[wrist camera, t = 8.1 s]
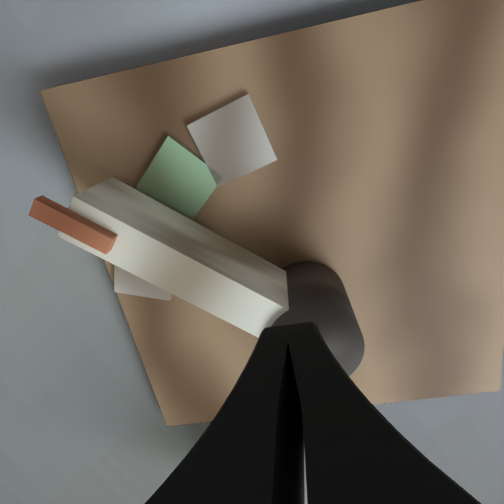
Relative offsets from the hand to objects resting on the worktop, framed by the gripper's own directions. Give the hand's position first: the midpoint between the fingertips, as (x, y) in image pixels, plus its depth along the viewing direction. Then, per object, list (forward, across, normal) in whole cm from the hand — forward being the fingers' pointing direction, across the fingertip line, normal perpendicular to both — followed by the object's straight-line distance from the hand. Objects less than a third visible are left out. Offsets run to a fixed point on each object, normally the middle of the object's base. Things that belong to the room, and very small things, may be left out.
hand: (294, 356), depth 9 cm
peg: (+9, +3, 0) cm, 10 cm away
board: (+10, 0, +2) cm, 10 cm away
